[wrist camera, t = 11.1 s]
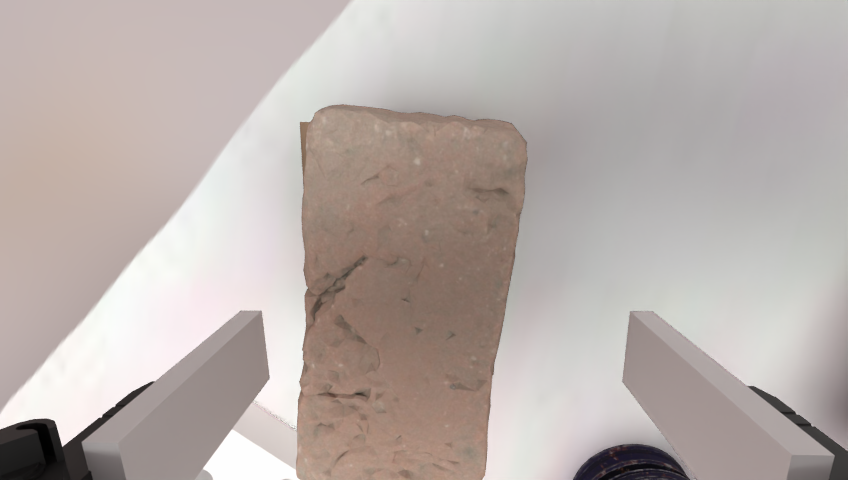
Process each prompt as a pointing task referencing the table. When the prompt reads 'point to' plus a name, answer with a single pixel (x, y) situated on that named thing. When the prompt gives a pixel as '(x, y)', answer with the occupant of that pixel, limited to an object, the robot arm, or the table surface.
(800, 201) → the table surface
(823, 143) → the table surface
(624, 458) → the dark blue barrel
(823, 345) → the table surface
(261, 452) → the bracket
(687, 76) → the table surface
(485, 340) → the brick
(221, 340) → the robot arm
